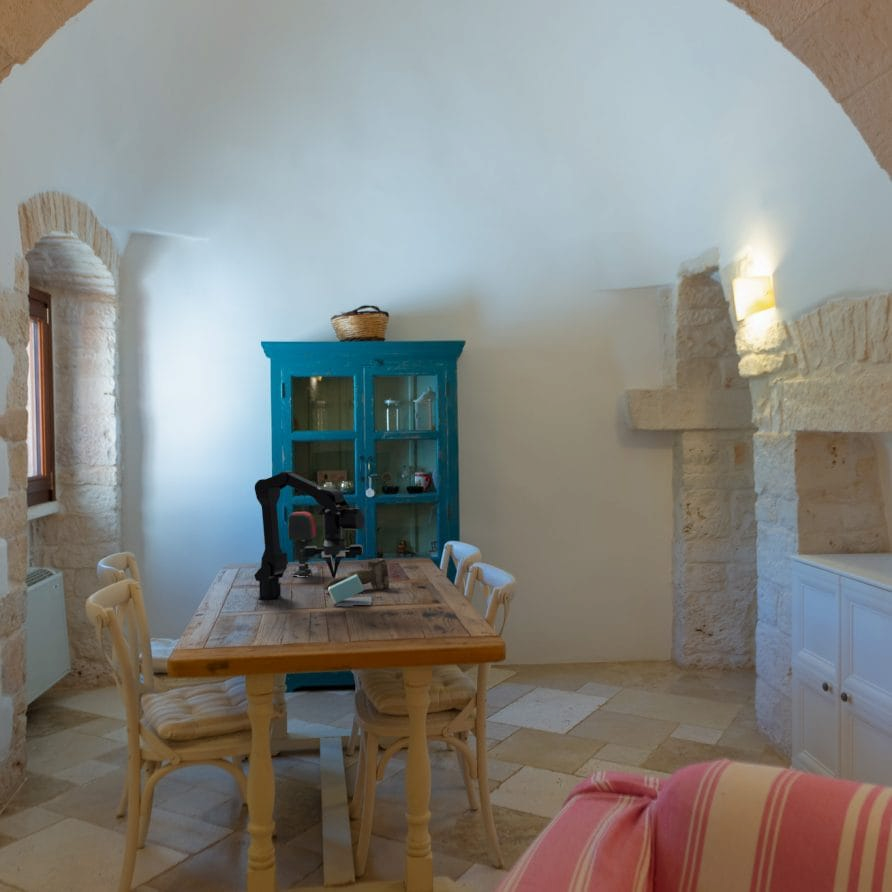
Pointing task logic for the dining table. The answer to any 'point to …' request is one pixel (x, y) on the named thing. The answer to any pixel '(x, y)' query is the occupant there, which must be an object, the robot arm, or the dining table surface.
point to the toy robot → (302, 537)
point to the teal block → (345, 589)
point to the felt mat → (355, 601)
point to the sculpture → (368, 575)
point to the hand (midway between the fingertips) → (333, 577)
